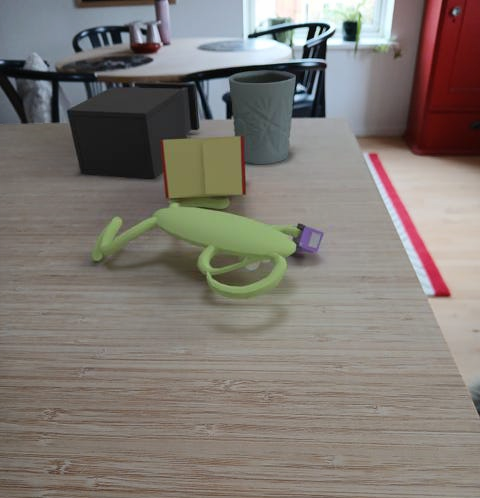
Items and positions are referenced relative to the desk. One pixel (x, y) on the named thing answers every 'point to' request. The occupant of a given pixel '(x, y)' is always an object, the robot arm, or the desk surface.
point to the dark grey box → (126, 130)
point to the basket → (188, 100)
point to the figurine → (219, 240)
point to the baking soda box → (204, 167)
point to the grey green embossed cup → (263, 113)
